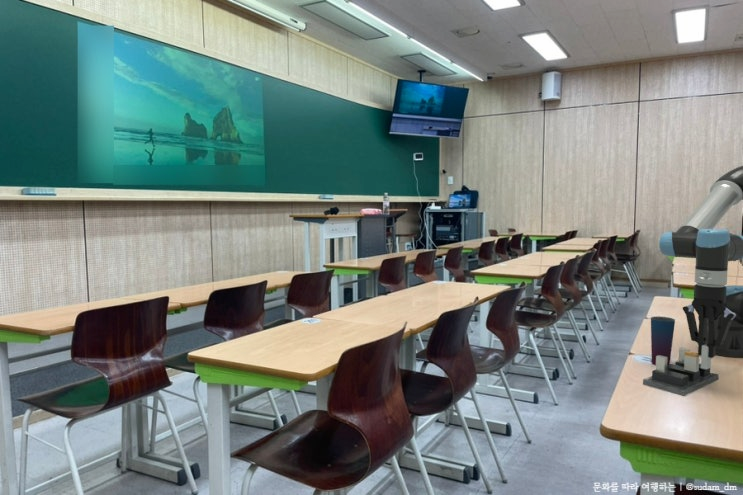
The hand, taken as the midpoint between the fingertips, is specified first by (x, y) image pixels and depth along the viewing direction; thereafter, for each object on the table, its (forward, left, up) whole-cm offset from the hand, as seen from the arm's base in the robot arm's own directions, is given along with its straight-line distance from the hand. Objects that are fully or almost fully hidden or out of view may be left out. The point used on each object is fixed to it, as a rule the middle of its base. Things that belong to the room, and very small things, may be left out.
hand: (705, 367), depth 146 cm
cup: (-12, -18, -6) cm, 22 cm away
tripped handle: (0, -4, -2) cm, 4 cm away
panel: (0, -6, -6) cm, 9 cm away
